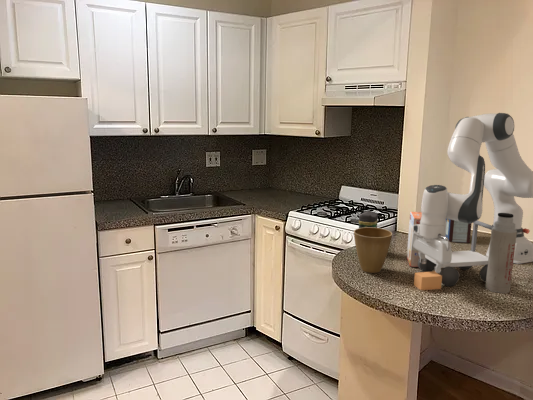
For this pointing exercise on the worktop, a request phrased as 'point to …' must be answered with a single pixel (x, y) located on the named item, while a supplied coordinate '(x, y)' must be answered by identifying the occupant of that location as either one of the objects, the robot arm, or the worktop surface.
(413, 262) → the cracker box
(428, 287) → the block
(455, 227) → the protein box
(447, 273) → the cart
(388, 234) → the plant pot
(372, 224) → the coffee jar
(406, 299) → the worktop surface
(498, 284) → the thermos bottle
